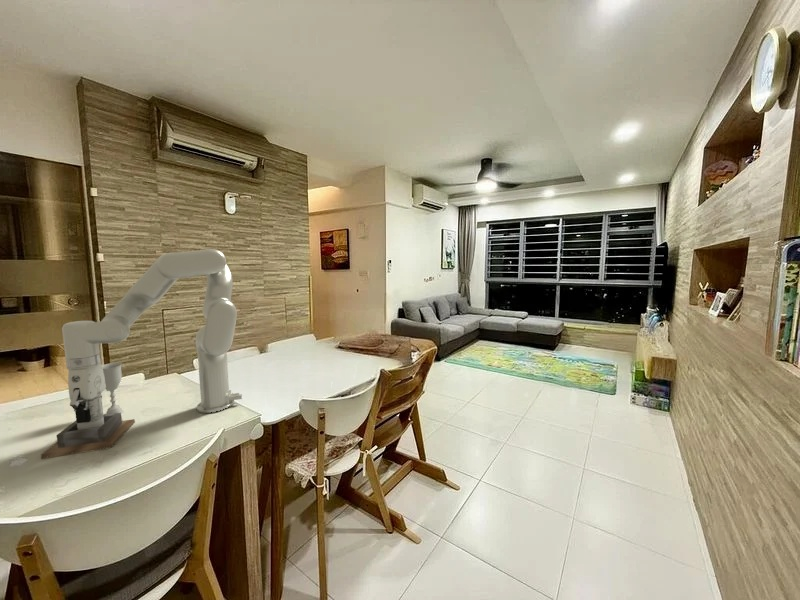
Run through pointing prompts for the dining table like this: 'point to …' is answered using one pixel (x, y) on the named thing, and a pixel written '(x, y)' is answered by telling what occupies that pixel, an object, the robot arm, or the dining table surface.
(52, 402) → the dining table surface
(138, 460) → the dining table surface
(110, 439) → the socket block
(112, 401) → the chalice
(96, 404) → the energy drink can
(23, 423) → the dining table surface
